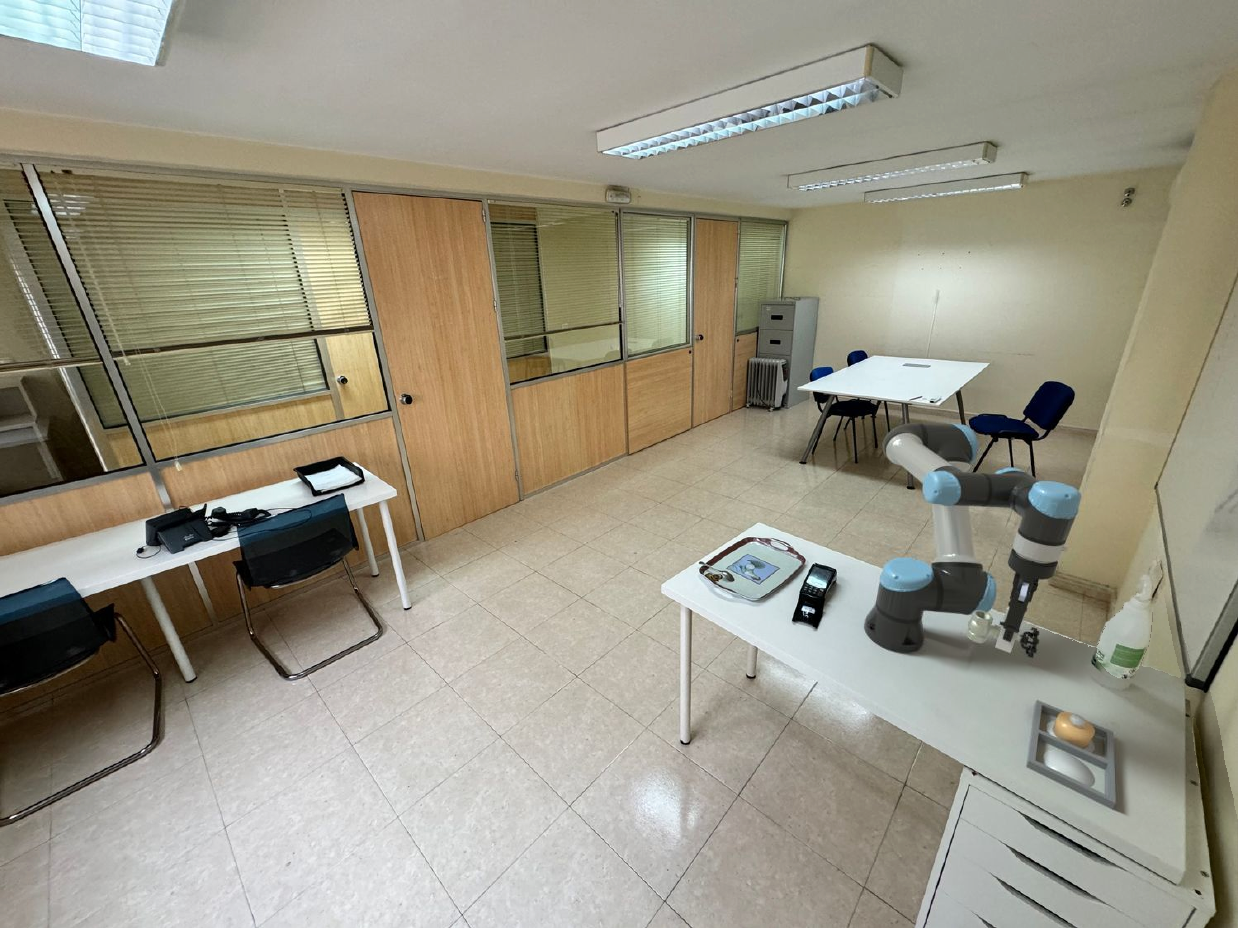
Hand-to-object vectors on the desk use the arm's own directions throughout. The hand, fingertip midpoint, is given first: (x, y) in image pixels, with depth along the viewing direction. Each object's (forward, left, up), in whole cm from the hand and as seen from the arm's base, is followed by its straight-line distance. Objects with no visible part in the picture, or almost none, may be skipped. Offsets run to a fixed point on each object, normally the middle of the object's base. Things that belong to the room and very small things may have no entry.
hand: (1004, 640), depth 108 cm
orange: (+16, +1, -19) cm, 25 cm away
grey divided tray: (+16, -4, -20) cm, 25 cm away
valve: (-1, 0, -2) cm, 2 cm away
